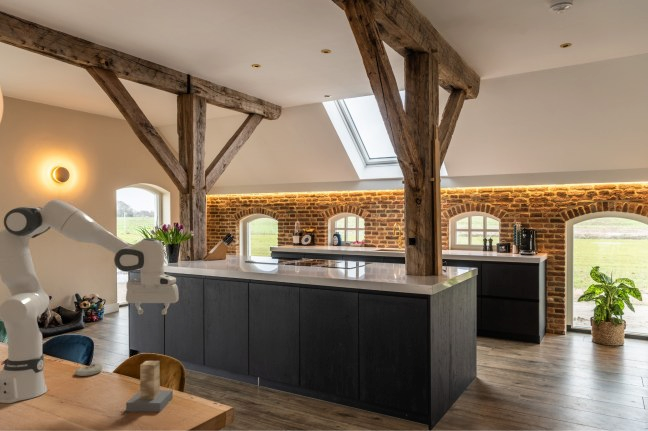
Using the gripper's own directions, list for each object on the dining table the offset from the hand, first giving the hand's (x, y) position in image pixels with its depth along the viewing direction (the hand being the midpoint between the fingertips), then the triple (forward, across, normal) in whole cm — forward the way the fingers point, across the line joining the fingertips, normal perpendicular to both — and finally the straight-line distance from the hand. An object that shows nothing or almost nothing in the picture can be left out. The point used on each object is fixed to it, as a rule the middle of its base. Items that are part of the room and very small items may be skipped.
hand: (152, 314), depth 185 cm
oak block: (+26, +6, -17) cm, 32 cm away
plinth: (+29, +6, -17) cm, 34 cm away
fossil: (+30, -34, +17) cm, 49 cm away
